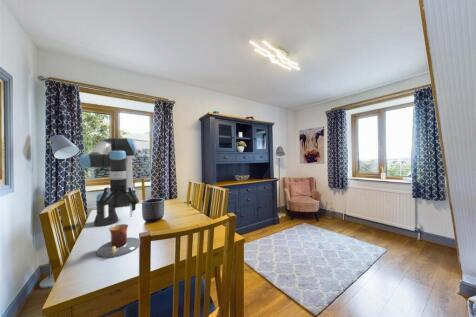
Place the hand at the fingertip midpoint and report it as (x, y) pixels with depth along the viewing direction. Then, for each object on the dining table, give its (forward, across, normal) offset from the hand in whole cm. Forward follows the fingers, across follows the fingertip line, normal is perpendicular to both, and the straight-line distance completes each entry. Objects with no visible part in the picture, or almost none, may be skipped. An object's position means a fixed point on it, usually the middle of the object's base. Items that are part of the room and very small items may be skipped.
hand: (119, 216), depth 102 cm
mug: (+16, +1, -2) cm, 16 cm away
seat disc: (+17, 0, -1) cm, 17 cm away
